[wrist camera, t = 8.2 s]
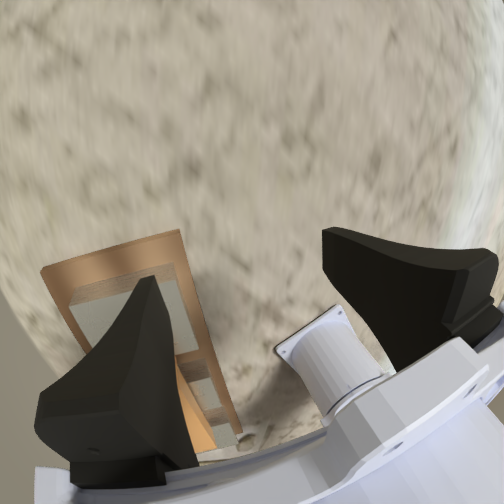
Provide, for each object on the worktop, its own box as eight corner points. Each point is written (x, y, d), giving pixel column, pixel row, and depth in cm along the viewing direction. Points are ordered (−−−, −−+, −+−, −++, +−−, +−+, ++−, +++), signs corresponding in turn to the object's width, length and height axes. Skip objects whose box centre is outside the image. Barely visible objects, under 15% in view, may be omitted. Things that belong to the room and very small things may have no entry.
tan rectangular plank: (173, 338, 23) (180, 388, 18) (206, 408, 29) (217, 448, 24) (130, 348, 22) (130, 398, 18) (173, 415, 28) (181, 455, 24)
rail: (173, 261, 20) (175, 279, 18) (233, 428, 33) (238, 443, 31) (75, 287, 19) (68, 306, 16) (176, 441, 31) (179, 456, 29)
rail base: (179, 228, 20) (179, 233, 19) (241, 427, 35) (243, 432, 34) (43, 267, 18) (39, 272, 17) (164, 445, 32) (164, 449, 32)
